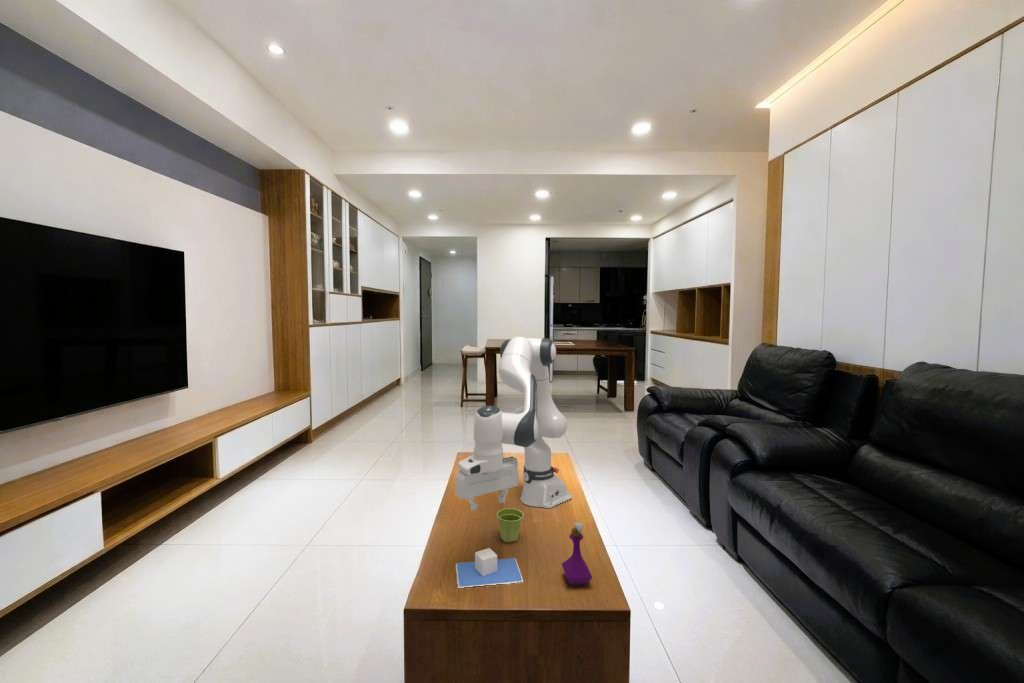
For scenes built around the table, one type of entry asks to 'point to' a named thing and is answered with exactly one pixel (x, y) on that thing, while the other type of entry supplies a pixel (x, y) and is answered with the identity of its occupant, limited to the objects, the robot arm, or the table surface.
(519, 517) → the plant pot
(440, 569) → the table surface
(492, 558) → the cream block
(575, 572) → the perfume bottle
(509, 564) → the tablet computer
